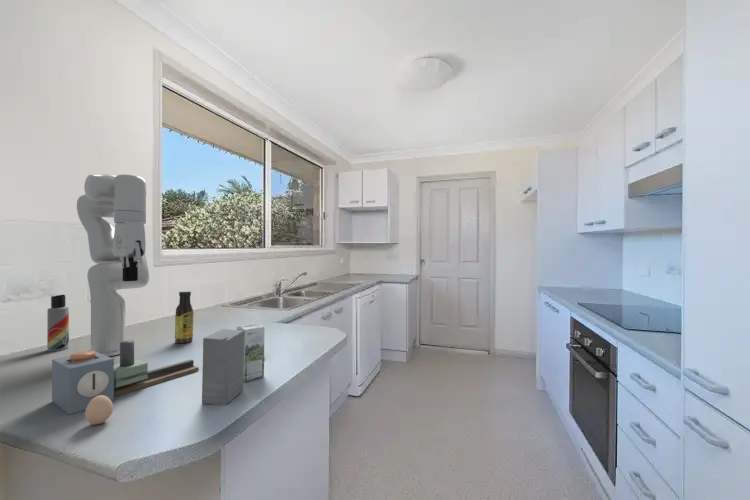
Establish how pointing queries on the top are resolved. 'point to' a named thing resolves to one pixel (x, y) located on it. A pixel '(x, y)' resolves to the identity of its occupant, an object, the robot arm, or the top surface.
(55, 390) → the cabinet
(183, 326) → the sauce bottle
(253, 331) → the syrup box
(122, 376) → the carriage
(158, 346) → the top surface
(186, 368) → the slide rail
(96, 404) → the egg
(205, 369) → the skincare box
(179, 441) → the top surface
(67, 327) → the lotion bottle
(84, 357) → the button
